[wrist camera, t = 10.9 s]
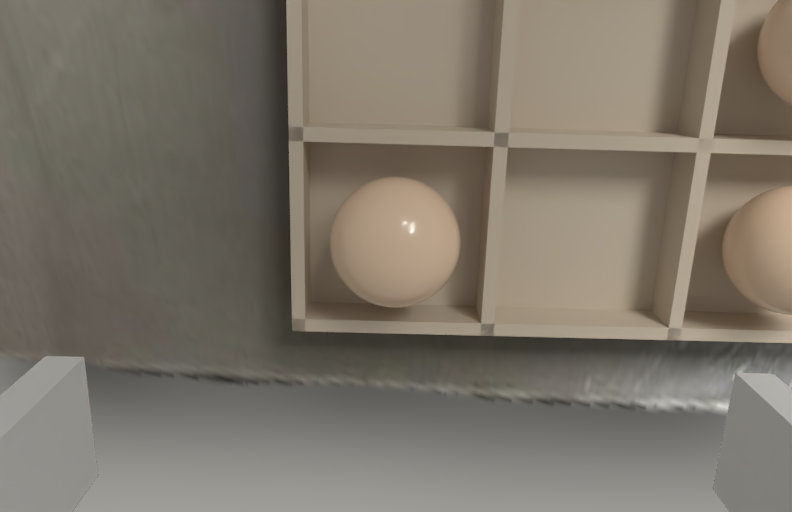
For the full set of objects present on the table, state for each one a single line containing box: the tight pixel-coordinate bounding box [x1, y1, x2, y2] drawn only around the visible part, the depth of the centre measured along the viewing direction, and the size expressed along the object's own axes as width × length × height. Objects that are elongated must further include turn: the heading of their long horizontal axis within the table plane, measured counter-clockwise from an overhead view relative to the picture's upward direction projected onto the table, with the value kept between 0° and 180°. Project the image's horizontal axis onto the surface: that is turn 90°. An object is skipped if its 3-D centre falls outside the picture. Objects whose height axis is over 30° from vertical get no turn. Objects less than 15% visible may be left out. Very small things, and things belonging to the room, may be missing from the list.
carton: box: [286, 0, 792, 343], centre depth 29 cm, size 18×26×3 cm
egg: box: [330, 177, 461, 308], centre depth 28 cm, size 6×6×6 cm
